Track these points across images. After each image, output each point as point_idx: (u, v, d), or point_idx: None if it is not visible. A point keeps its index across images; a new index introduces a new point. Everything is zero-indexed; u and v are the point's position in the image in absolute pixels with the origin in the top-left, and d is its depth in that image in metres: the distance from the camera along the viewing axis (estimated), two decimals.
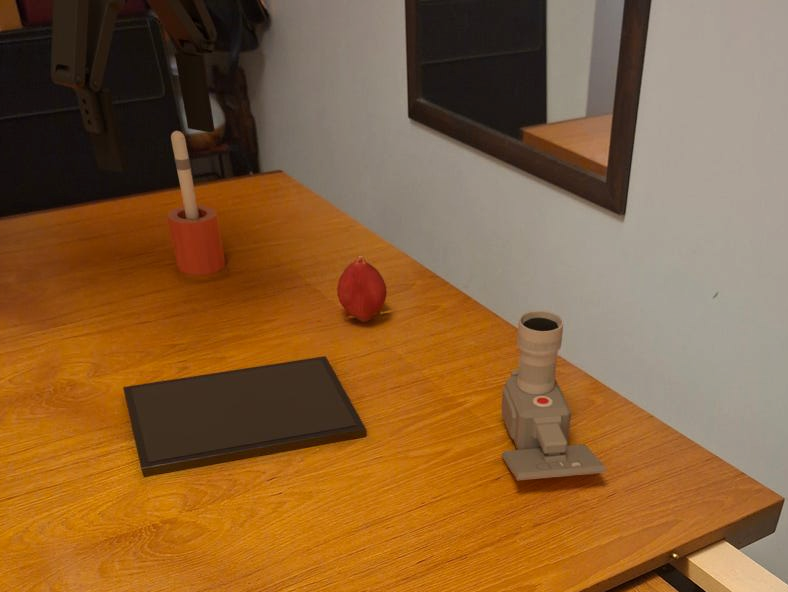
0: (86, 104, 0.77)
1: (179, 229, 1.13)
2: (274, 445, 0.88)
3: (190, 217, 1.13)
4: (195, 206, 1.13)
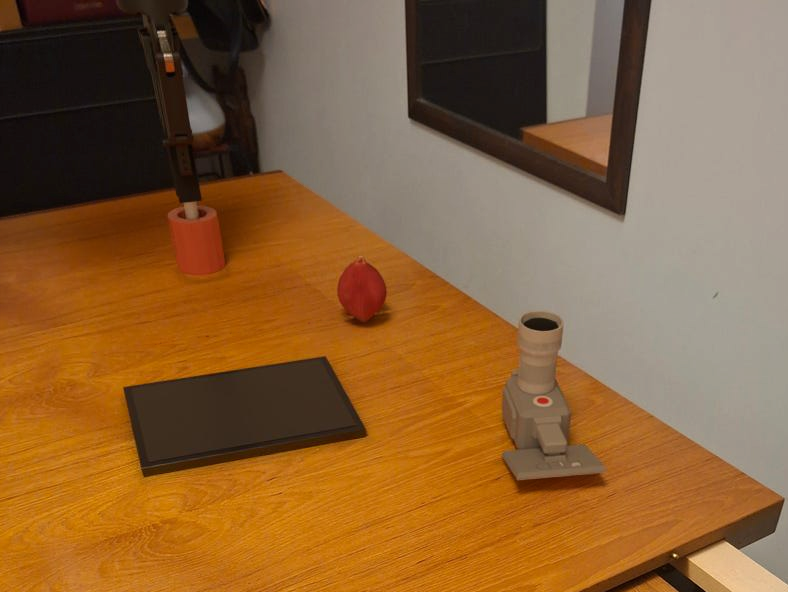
0: (184, 155, 1.07)
1: (179, 229, 1.13)
2: (274, 445, 0.88)
3: (190, 217, 1.13)
4: (195, 206, 1.13)
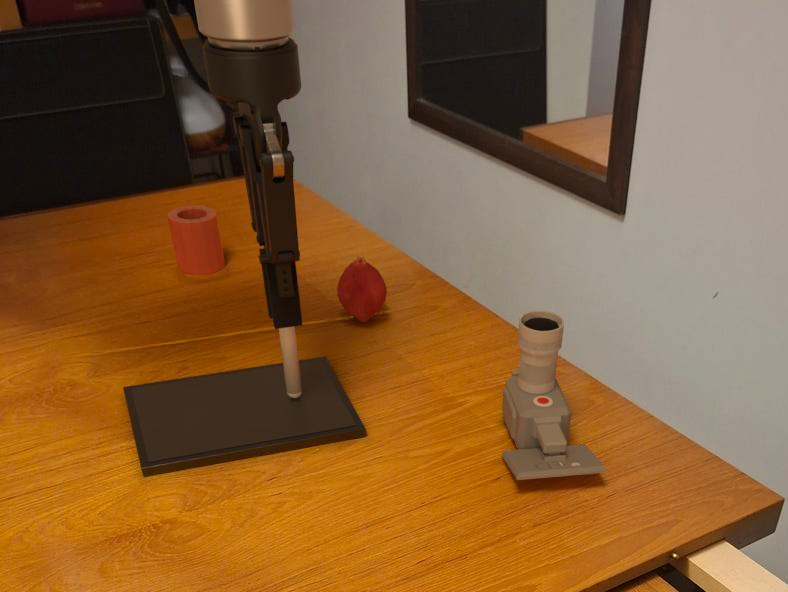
0: (286, 274, 0.83)
1: (179, 229, 1.13)
2: (274, 445, 0.88)
3: (286, 343, 0.89)
4: (293, 330, 0.89)
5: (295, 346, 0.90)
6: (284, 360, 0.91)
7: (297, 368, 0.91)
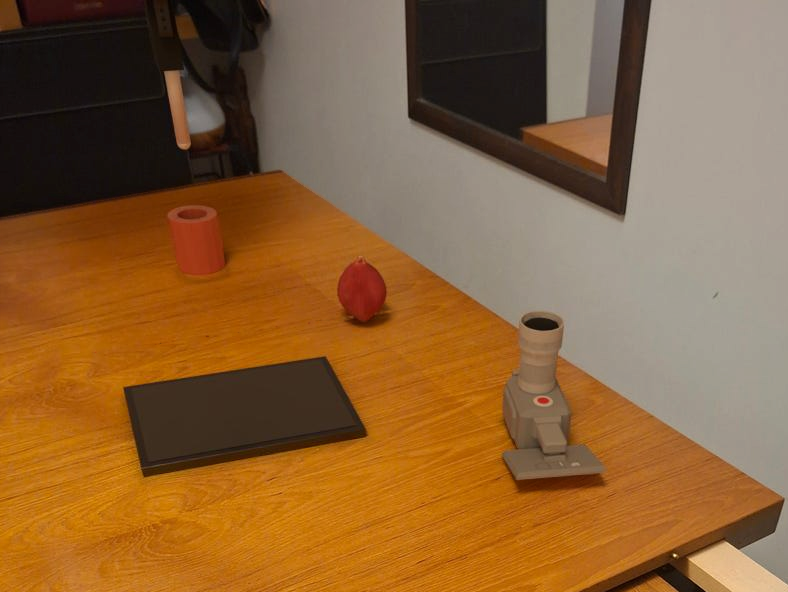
0: (163, 12, 0.95)
1: (179, 229, 1.13)
2: (274, 445, 0.88)
3: (172, 90, 1.01)
4: (177, 77, 1.01)
5: (180, 94, 1.02)
6: (172, 108, 1.03)
7: (184, 117, 1.04)
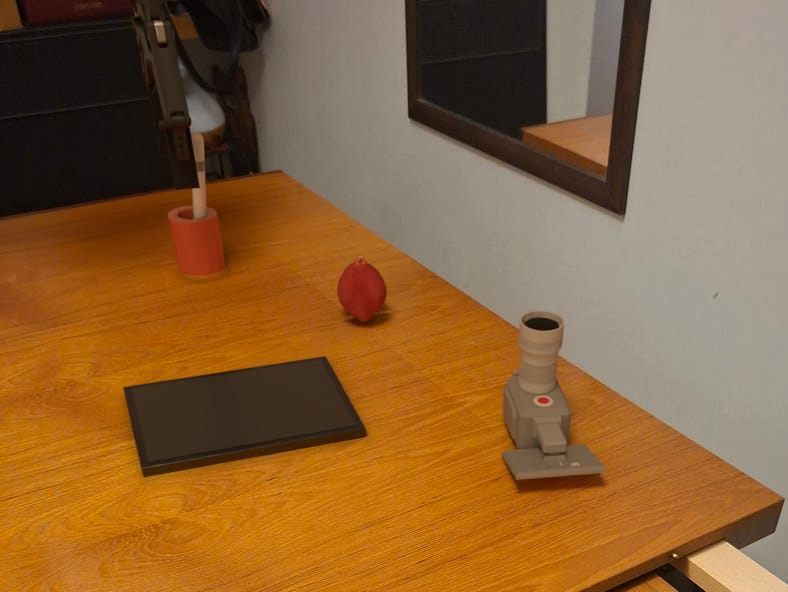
0: (181, 139, 1.01)
1: (179, 229, 1.13)
2: (274, 445, 0.88)
3: (198, 217, 1.13)
4: (204, 207, 1.13)
5: None
6: None
7: None
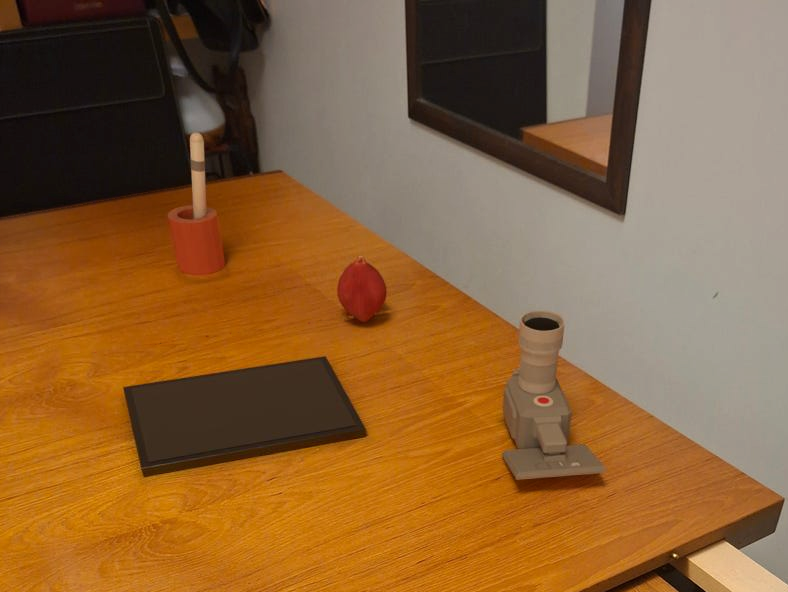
0: None
1: (179, 229, 1.13)
2: (274, 445, 0.88)
3: (198, 217, 1.13)
4: (204, 207, 1.13)
5: None
6: None
7: None
